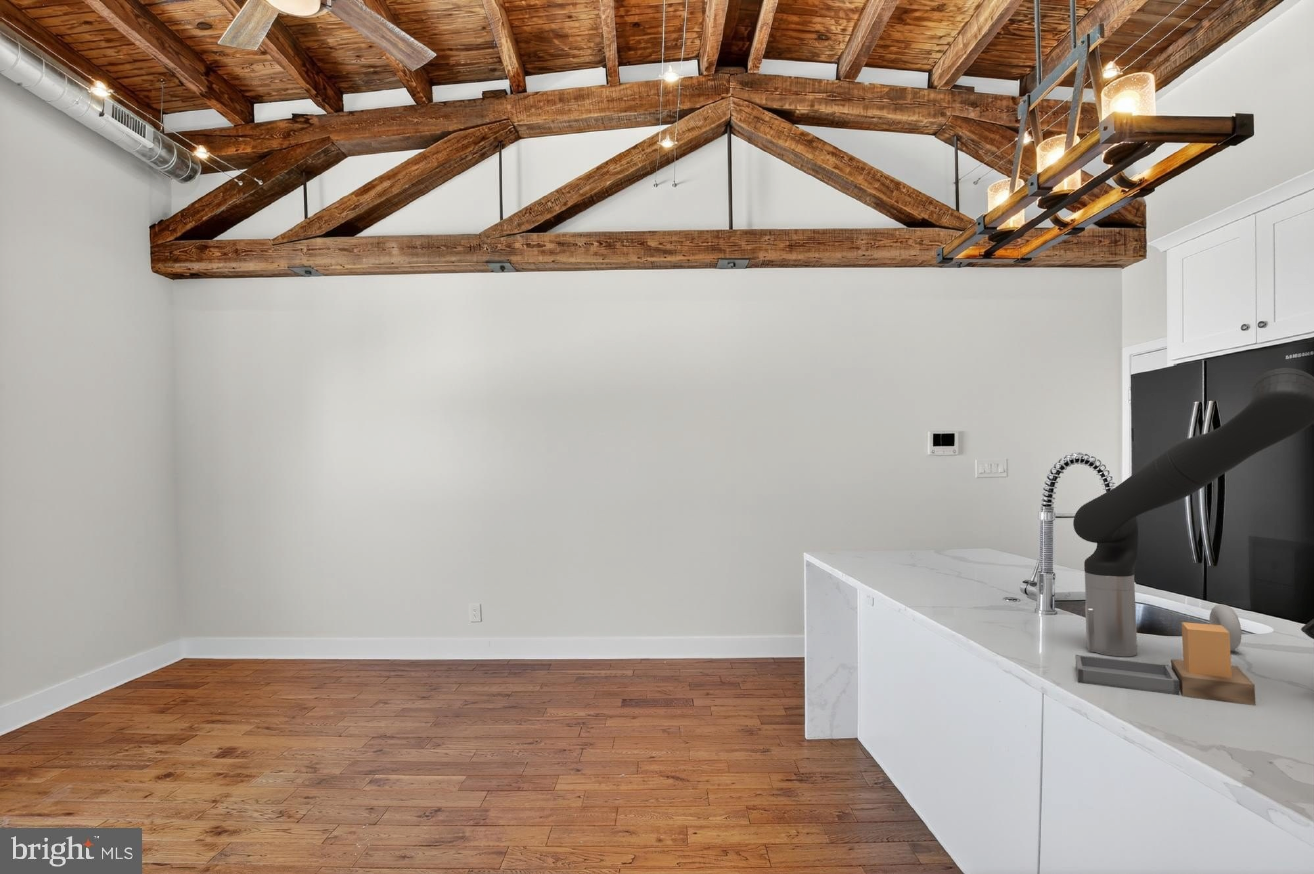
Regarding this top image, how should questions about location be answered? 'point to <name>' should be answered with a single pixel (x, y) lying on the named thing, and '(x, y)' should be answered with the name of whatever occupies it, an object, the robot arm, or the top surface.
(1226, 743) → the top surface
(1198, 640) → the orange block
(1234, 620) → the donut
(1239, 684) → the walnut board
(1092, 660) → the tray
